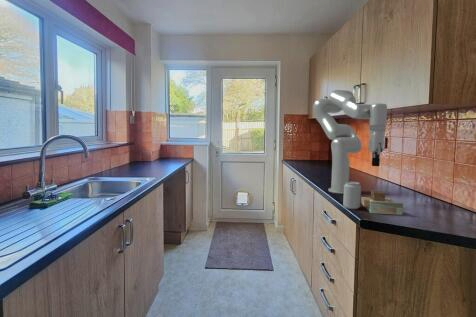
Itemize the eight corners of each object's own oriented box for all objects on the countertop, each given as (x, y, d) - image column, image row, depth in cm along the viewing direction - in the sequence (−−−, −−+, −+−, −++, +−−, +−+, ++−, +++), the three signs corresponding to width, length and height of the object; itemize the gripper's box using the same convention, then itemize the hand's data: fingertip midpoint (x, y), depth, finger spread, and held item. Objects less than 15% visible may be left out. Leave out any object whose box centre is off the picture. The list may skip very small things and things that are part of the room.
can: (349, 210, 138) (350, 184, 137) (339, 206, 146) (340, 181, 144) (363, 209, 140) (365, 183, 139) (353, 205, 148) (354, 180, 146)
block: (370, 198, 149) (371, 190, 149) (381, 198, 148) (382, 190, 148) (373, 200, 144) (374, 192, 144) (384, 201, 143) (385, 192, 143)
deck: (361, 203, 152) (361, 193, 151) (389, 204, 149) (389, 194, 149) (370, 213, 134) (371, 201, 133) (402, 214, 132) (403, 203, 131)
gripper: (365, 129, 159) (364, 164, 160) (373, 128, 144) (371, 167, 146) (381, 129, 157) (379, 164, 159) (390, 129, 143) (388, 168, 144)
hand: (375, 165), depth 152 cm, fingers closed
